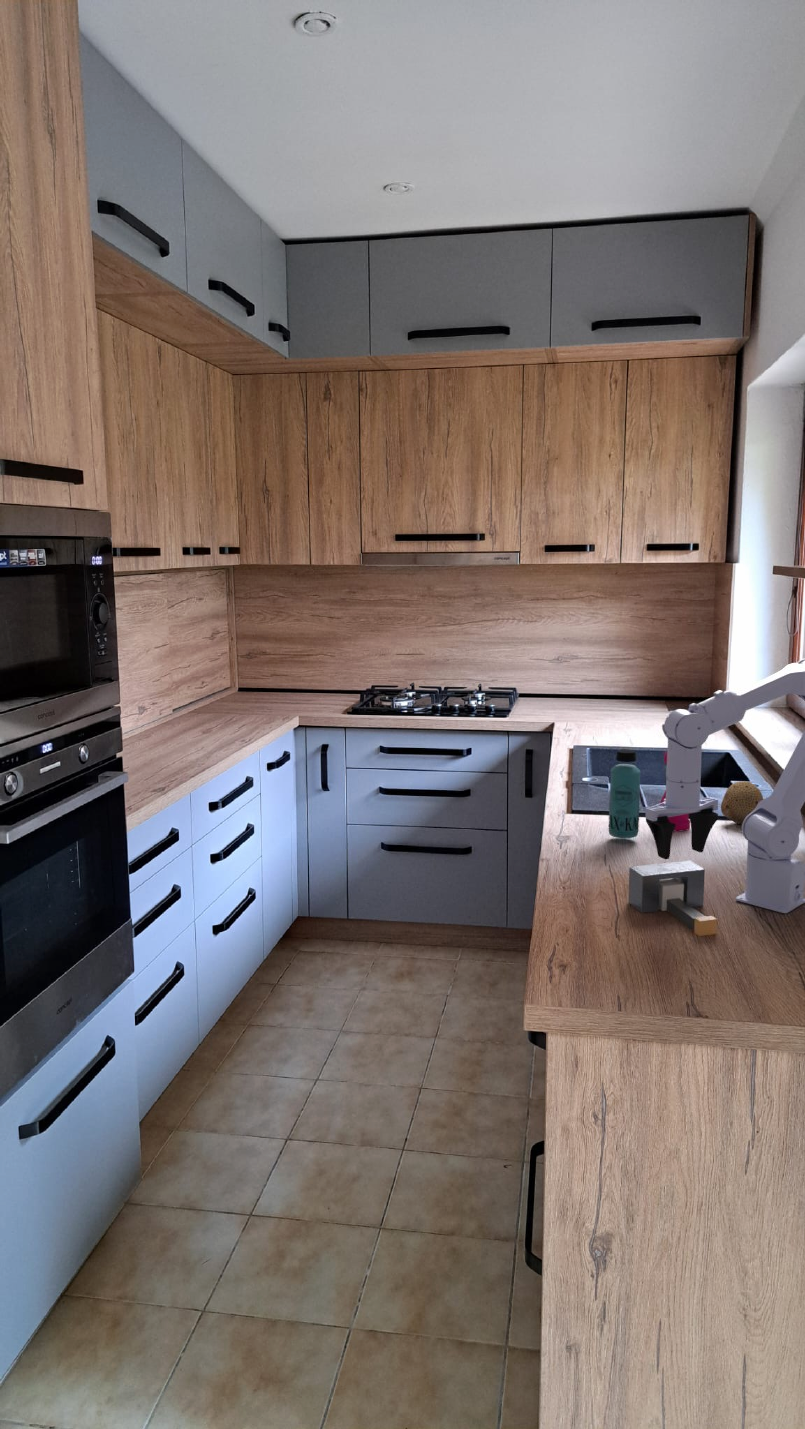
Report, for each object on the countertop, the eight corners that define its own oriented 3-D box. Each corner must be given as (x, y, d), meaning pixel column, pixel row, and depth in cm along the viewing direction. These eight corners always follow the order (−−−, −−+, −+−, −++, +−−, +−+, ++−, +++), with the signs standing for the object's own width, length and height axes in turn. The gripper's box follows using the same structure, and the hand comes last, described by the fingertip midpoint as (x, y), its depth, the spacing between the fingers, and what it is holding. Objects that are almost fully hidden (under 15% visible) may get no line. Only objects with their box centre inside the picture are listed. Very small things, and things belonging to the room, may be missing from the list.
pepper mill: (680, 834, 215) (683, 745, 212) (652, 827, 221) (655, 740, 217) (698, 827, 220) (702, 740, 216) (670, 820, 225) (673, 735, 222)
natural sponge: (773, 827, 219) (775, 783, 218) (743, 832, 216) (745, 788, 214) (742, 816, 227) (744, 775, 226) (713, 822, 224) (715, 779, 222)
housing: (703, 905, 175) (704, 869, 173) (641, 913, 172) (642, 876, 171) (688, 895, 180) (689, 860, 178) (628, 902, 177) (629, 866, 175)
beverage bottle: (605, 836, 215) (607, 746, 211) (636, 835, 215) (638, 746, 211) (610, 845, 209) (612, 753, 205) (642, 845, 208) (644, 753, 205)
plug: (718, 933, 163) (719, 907, 162) (696, 936, 162) (697, 910, 161) (671, 900, 178) (672, 876, 177) (651, 902, 177) (652, 878, 176)
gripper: (699, 769, 177) (696, 841, 180) (635, 779, 171) (633, 853, 173) (728, 777, 171) (724, 852, 173) (662, 788, 165) (659, 865, 167)
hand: (680, 854), depth 173 cm, fingers open, 7 cm apart
